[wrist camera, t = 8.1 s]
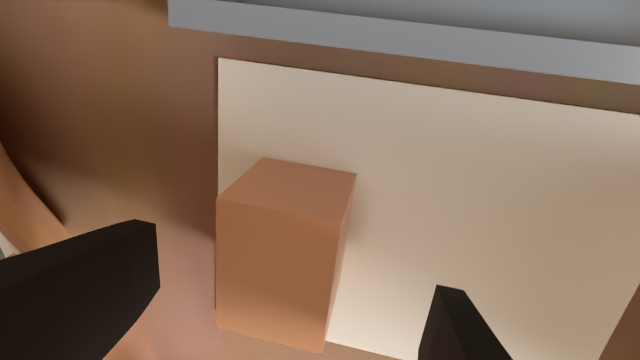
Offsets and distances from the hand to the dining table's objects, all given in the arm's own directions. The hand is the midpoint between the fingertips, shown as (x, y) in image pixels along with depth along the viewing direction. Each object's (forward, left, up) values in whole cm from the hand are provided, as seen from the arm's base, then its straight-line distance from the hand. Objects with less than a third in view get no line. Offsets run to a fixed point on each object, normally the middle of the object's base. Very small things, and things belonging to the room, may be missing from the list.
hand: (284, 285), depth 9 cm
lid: (-3, 0, -4) cm, 5 cm away
